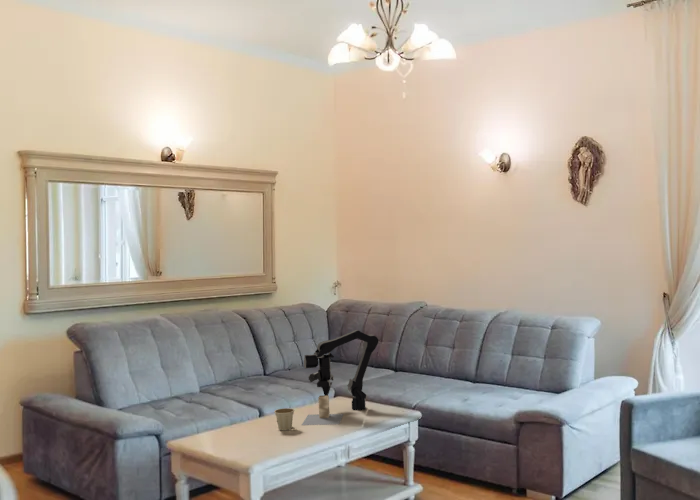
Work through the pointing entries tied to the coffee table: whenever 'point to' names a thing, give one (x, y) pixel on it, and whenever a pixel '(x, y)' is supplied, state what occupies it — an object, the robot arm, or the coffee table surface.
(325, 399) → the birch block
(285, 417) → the flower pot
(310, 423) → the mat
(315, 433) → the coffee table surface
